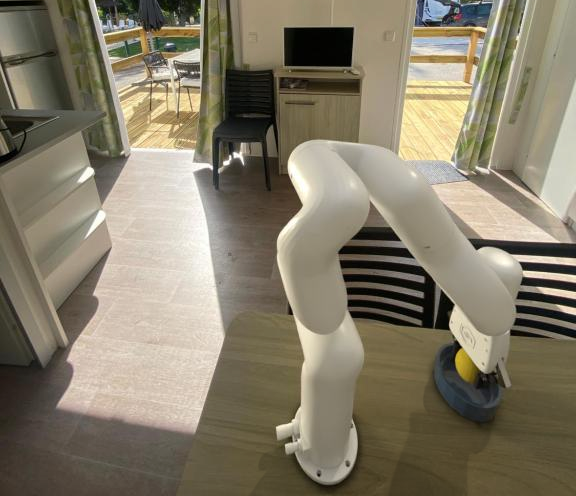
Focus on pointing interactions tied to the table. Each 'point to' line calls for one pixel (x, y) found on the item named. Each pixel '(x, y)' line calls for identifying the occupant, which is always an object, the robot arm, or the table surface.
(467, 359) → the lemon
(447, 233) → the robot arm
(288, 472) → the table surface
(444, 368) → the bowl
